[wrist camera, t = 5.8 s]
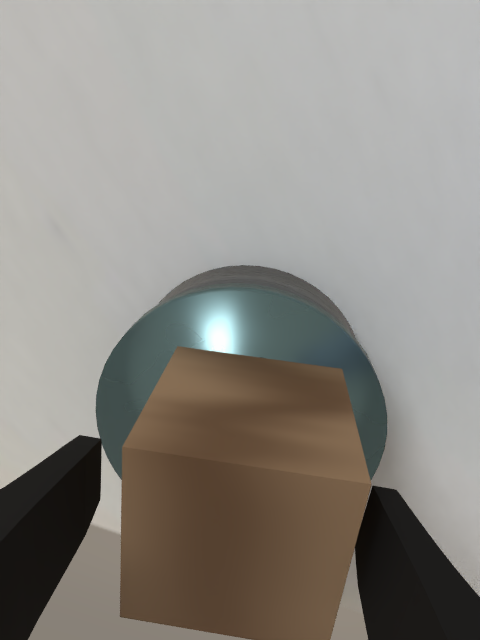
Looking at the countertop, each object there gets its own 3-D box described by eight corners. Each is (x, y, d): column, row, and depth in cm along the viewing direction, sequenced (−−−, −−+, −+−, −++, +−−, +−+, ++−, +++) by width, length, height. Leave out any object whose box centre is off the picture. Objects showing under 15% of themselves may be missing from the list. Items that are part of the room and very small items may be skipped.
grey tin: (388, 273, 16) (418, 310, 13) (343, 480, 20) (357, 558, 16) (134, 245, 17) (91, 273, 13) (133, 452, 20) (99, 520, 17)
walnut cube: (342, 368, 13) (371, 483, 9) (314, 498, 15) (326, 652, 11) (177, 345, 14) (122, 446, 9) (169, 476, 16) (120, 616, 11)
